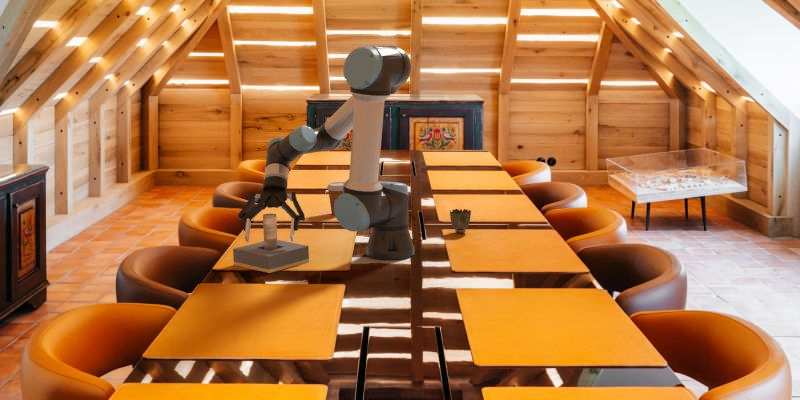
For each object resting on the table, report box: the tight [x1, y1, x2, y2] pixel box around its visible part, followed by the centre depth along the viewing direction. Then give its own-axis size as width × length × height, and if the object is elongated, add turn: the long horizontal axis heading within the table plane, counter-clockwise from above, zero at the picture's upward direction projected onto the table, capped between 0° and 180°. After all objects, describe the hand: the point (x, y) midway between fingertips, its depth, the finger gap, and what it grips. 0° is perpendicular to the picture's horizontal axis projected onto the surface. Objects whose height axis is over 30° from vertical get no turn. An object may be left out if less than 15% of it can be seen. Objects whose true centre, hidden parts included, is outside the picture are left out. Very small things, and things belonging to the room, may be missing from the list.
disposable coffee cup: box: [326, 181, 346, 216], centre depth 323 cm, size 10×10×12 cm
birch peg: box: [262, 213, 278, 251], centre depth 249 cm, size 4×4×14 cm
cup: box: [449, 208, 472, 235], centre depth 287 cm, size 8×7×8 cm
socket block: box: [232, 239, 310, 274], centre depth 250 cm, size 16×16×5 cm
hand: (269, 239), depth 246 cm, fingers open, 13 cm apart
